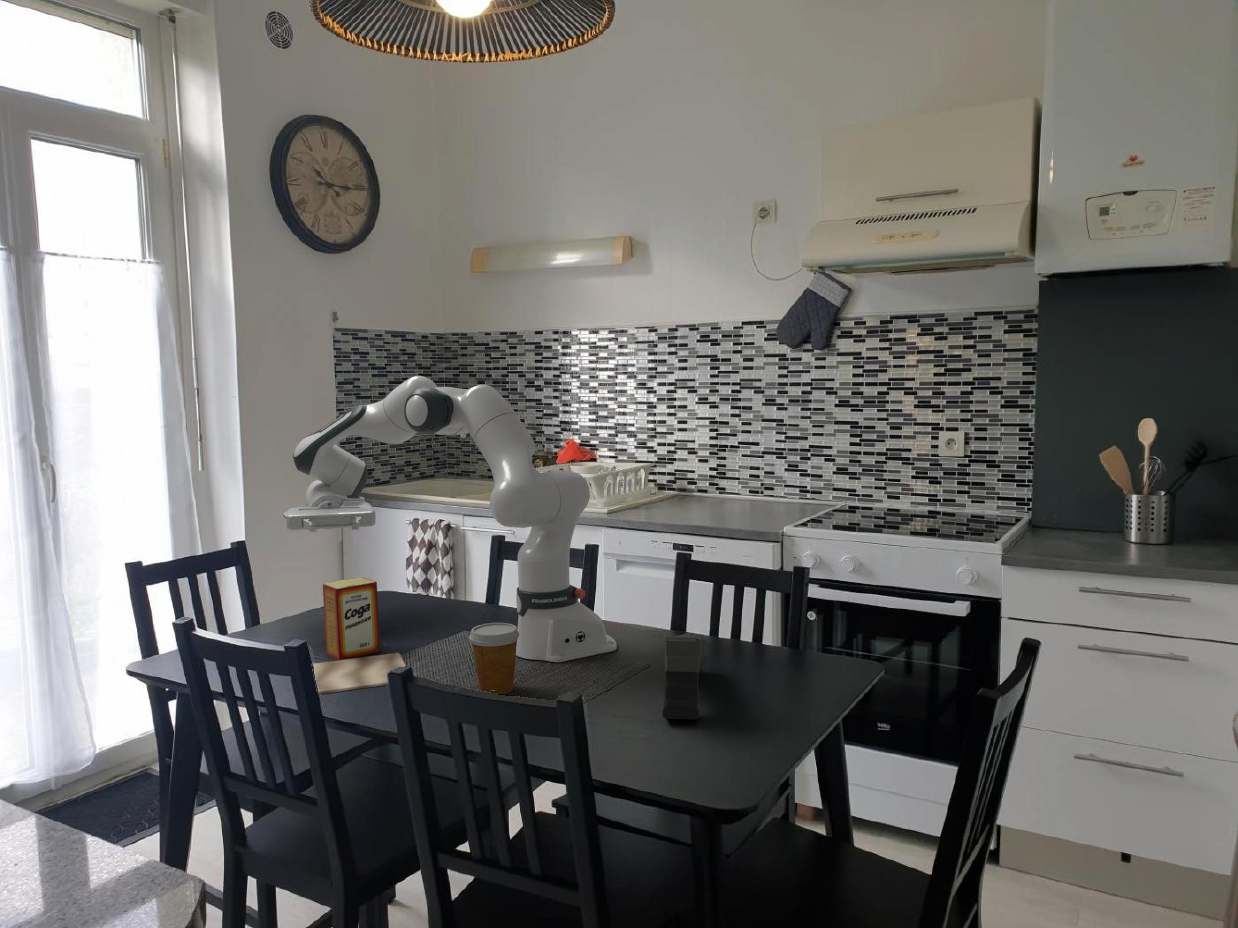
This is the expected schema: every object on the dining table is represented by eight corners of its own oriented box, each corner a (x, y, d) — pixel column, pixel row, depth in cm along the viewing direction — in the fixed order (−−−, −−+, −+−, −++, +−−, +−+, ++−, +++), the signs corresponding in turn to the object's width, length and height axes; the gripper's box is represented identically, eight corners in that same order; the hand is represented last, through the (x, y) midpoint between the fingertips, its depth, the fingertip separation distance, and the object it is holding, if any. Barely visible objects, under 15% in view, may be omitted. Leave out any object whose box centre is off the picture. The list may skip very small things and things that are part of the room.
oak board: (398, 654, 202) (398, 652, 201) (412, 681, 184) (412, 678, 184) (311, 666, 195) (311, 663, 195) (317, 694, 177) (317, 691, 177)
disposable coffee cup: (505, 678, 184) (503, 619, 183) (530, 690, 177) (528, 629, 176) (462, 688, 179) (460, 628, 178) (486, 702, 171) (483, 638, 170)
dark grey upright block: (660, 718, 157) (662, 628, 160) (675, 711, 185) (676, 634, 189) (699, 720, 156) (700, 629, 159) (708, 712, 184) (709, 635, 188)
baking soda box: (366, 645, 209) (363, 575, 208) (380, 651, 205) (376, 580, 203) (326, 654, 203) (322, 582, 202) (339, 660, 198) (335, 587, 197)
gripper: (282, 499, 221) (286, 516, 209) (370, 496, 229) (379, 512, 217) (282, 524, 223) (287, 543, 210) (370, 520, 231) (379, 538, 219)
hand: (334, 527), depth 214 cm, fingers open, 8 cm apart
